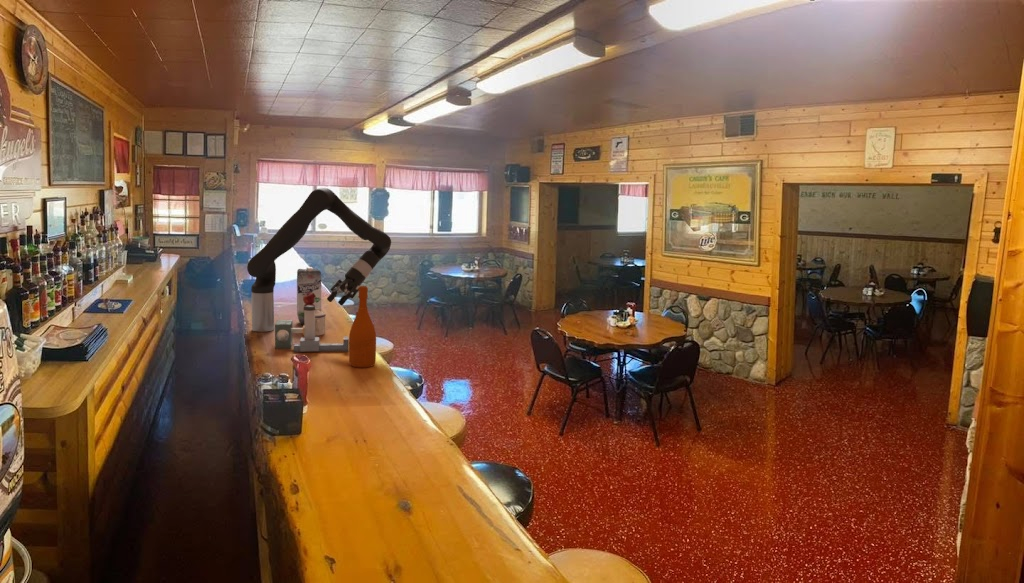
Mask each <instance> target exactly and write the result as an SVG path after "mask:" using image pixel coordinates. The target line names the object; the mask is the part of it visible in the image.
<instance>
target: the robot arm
mask: <svg viewBox="0 0 1024 583" xmlns="http://www.w3.org/2000/svg"><path fill="white" fill-rule="evenodd" d="M324 211H328V212H330V213H332V214H334V215H335V216H337V217H338V218H339V219H340V220H341V221H342V222H343V223H344V224H345V226H346V227H347V228H348V230H350V231H351V232H352V233H353V234H355V235H356V236H358V237H359V238H360V239H361V240H362V241H363V240H364V241H369V242H371V243H372V246H371V247H370V248H369V249H368V250H366V251H365V252H363V253H362V255H361V256H360V257H359V259H358V260H356V261H355V262H354V263H353V265H352V266H351V267H350V268H349V269H348V271H347V272H346V273H345V274H344V277H345V278H344V280H342V279H338V280H337V281H336V282H335V283H334V285H333V286H331V288H330V291H331V293H330V294H329V295H328V297H327V298H326V300H327V301H328V302H329V303H332V302H333V301H334V299H335V298H336V297H337V296H338V295H339V294H343V293H344V294H343V295H342V296H341V298H340V299H339V300H338V302H337V303H338V304H339V306H343V305H344V304H345V303H346V302H347V301H348V300H350V299H354V297H355V296H356V295H357V294H358V293H359V287H360V286H362V284H363V282H364V281H365V280H366V279H367V278H368V277H369V275H370V274H371V272H372V271H373V269H374V268H375V267H376V266H377V265H378V263H379V262H380V261H381V260H382V259H383V258H384V257H385V256H386V255H387V254H388V253H389V251H390V249H391V245H392V238H391V237H390V236H389V235H388V234H387V233H386V232H384V231H382V230H380V229H378V228H376V227H374V226H372V225H371V224H370V223H369V222H368V221H367V220H365V219H363V218H362V217H361V216H360V215H359V214H357V213H356V212H355V211H353V210H352V209H351V208H350V207H349V206H348V205H346V204H345V203H344V202H343V201H342V200H341V199H340V197H338V195H337V194H336V193H335V192H334V191H333V190H331V188H328V187H327V188H326V187H320V188H316V189H314V190H312V191H311V192H310V194H308V196H307V198H306V199H305V200H304V202H303V203H302V204H301V206H300V207H299V209H298V210H297V211H295V213H293V214H292V216H290V217H289V219H288V220H286V222H284V223H283V225H282V226H281V227H280V228H279V229H278V231H276V233H275V234H274V235H273V237H271V238H270V239H269V241H268V242H267V243H266V244H265V245H264V247H263V248H261V249H260V251H258V252H257V253H256V254H254V255H253V257H251V258H250V259H249V261H248V262H247V266H246V268H247V270H246V271H247V273H248V274H249V275H250V276H251V277H253V278H255V281H254V283H253V284H252V285H251V287H250V288H251V289H250V290H251V297H250V298H251V331H253V332H259V333H263V332H264V333H265V332H272V331H275V306H274V305H275V298H274V297H275V296H274V291H275V290H274V289H275V286H276V276H277V275H276V274H277V268H276V267H277V266H276V260H277V259H278V258H280V257H281V256H283V255H284V254H285V253H287V252H288V251H290V250H291V249H292V248H294V247H295V246H296V245H297V244H298V243H299V241H301V240H302V239H303V237H304V236H305V235H306V233H307V231H308V229H309V227H310V224H311V223H312V221H313V220H314V219H316V218H317V216H319V215H320V214H321V213H322V212H324Z"/></svg>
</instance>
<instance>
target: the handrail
mask: <svg viewBox="0 0 1024 583" xmlns="http://www.w3.org/2000/svg"><path fill="white" fill-rule="evenodd" d="M342 342H343V343H340V342H339V343H337V342H336V343H319V351H300V343H294V344H293V353H310V352H311V353H312V352H313V353H314V352H317V353H318V352H319V353H320V352H322V353H323V352H343V353H346V352H347V353H349V336H343V341H342Z"/></svg>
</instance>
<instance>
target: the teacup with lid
mask: <svg viewBox="0 0 1024 583" xmlns="http://www.w3.org/2000/svg"><path fill="white" fill-rule="evenodd" d="M325 334H326V313H325V312H323V311H322V310H321V311H319V310H317V308H315V337H319V336H323V335H325Z"/></svg>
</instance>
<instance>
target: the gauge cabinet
mask: <svg viewBox="0 0 1024 583" xmlns="http://www.w3.org/2000/svg"><path fill="white" fill-rule="evenodd" d="M291 328H293V319H277V320H276V322H274V348H275V349H276V350H277V349H279V350H281V349H282V350H283V349H287V350H289V349H290V350H291V349H292V347H293V345H294V344H293V338H294V337H293V333H291Z"/></svg>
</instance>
